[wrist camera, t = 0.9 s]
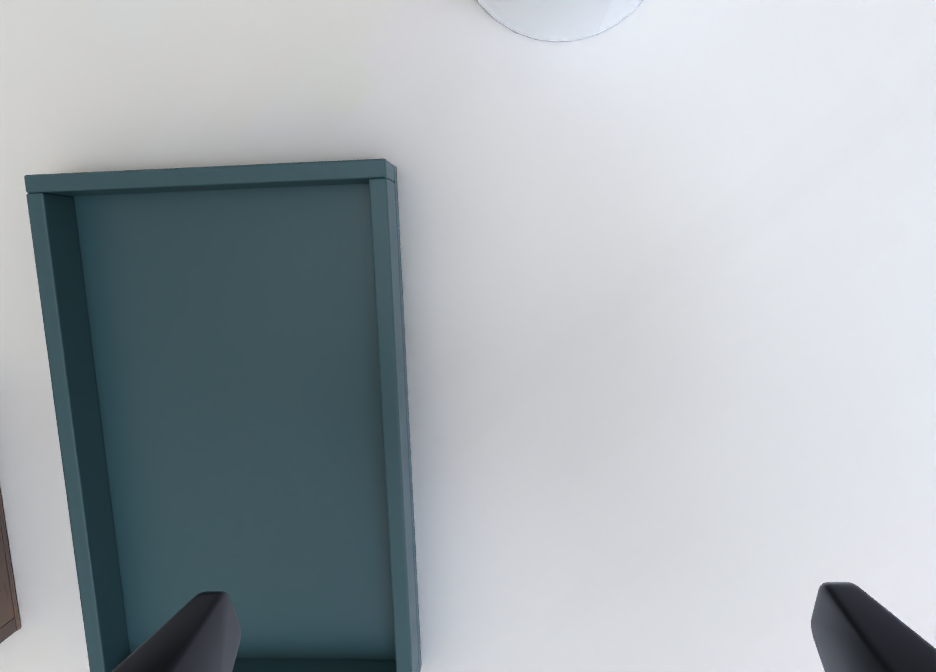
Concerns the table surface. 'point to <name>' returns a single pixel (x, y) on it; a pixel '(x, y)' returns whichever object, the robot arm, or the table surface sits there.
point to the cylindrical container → (559, 16)
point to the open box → (6, 586)
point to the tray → (234, 405)
